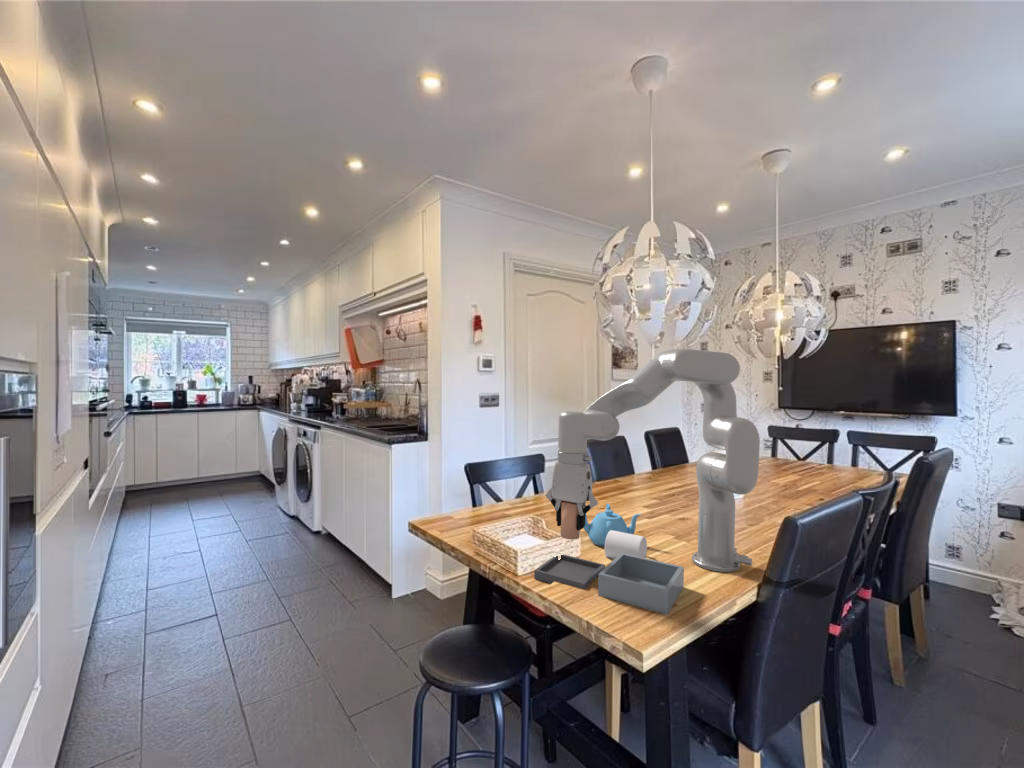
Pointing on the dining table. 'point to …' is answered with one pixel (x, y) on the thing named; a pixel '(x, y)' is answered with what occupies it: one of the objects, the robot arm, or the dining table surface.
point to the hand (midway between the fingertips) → (570, 526)
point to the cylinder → (569, 520)
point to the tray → (569, 571)
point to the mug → (625, 544)
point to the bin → (642, 582)
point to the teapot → (607, 525)
